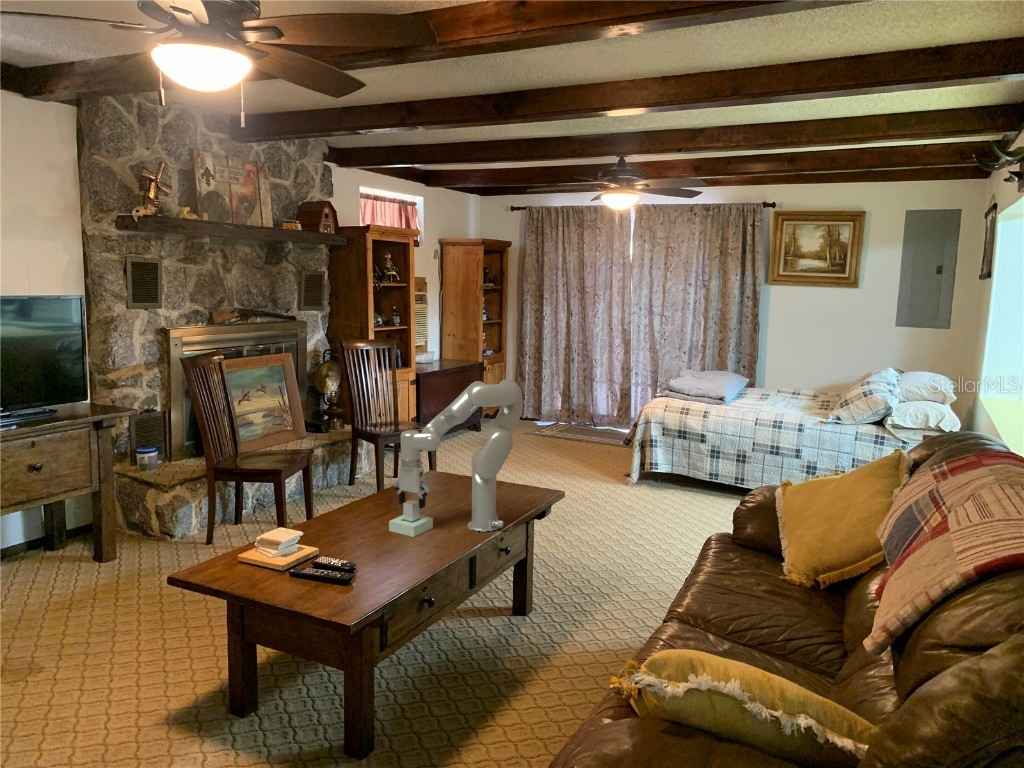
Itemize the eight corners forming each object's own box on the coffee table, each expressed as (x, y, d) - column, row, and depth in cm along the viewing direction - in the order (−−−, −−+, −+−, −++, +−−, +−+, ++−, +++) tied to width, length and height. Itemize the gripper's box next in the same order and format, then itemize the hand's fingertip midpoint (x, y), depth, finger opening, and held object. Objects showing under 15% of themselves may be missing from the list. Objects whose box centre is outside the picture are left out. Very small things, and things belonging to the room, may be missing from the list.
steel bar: (419, 528, 281) (419, 501, 279) (412, 532, 277) (412, 504, 275) (410, 526, 283) (410, 499, 281) (403, 530, 279) (403, 502, 277)
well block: (432, 527, 282) (432, 517, 281) (413, 536, 272) (413, 526, 271) (408, 522, 288) (408, 512, 287) (389, 530, 278) (389, 521, 277)
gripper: (435, 463, 275) (435, 506, 277) (399, 457, 283) (400, 499, 286) (423, 467, 268) (424, 512, 271) (387, 462, 277) (388, 504, 279)
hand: (412, 505), depth 278 cm, fingers open, 9 cm apart
